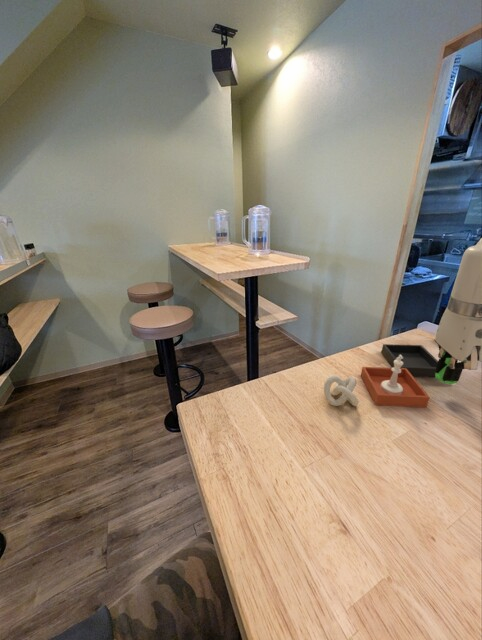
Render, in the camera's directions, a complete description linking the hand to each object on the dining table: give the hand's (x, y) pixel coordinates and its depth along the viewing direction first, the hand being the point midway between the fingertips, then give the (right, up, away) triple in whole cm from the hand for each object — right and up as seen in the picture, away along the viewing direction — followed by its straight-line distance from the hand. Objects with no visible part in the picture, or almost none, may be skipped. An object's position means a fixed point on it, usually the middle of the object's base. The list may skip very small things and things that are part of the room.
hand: (446, 376), depth 61 cm
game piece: (0, -1, 0) cm, 1 cm away
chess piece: (-11, -4, +3) cm, 13 cm away
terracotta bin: (-11, -4, +3) cm, 13 cm away
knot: (-25, -6, 0) cm, 26 cm away
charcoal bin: (0, +1, +13) cm, 13 cm away
